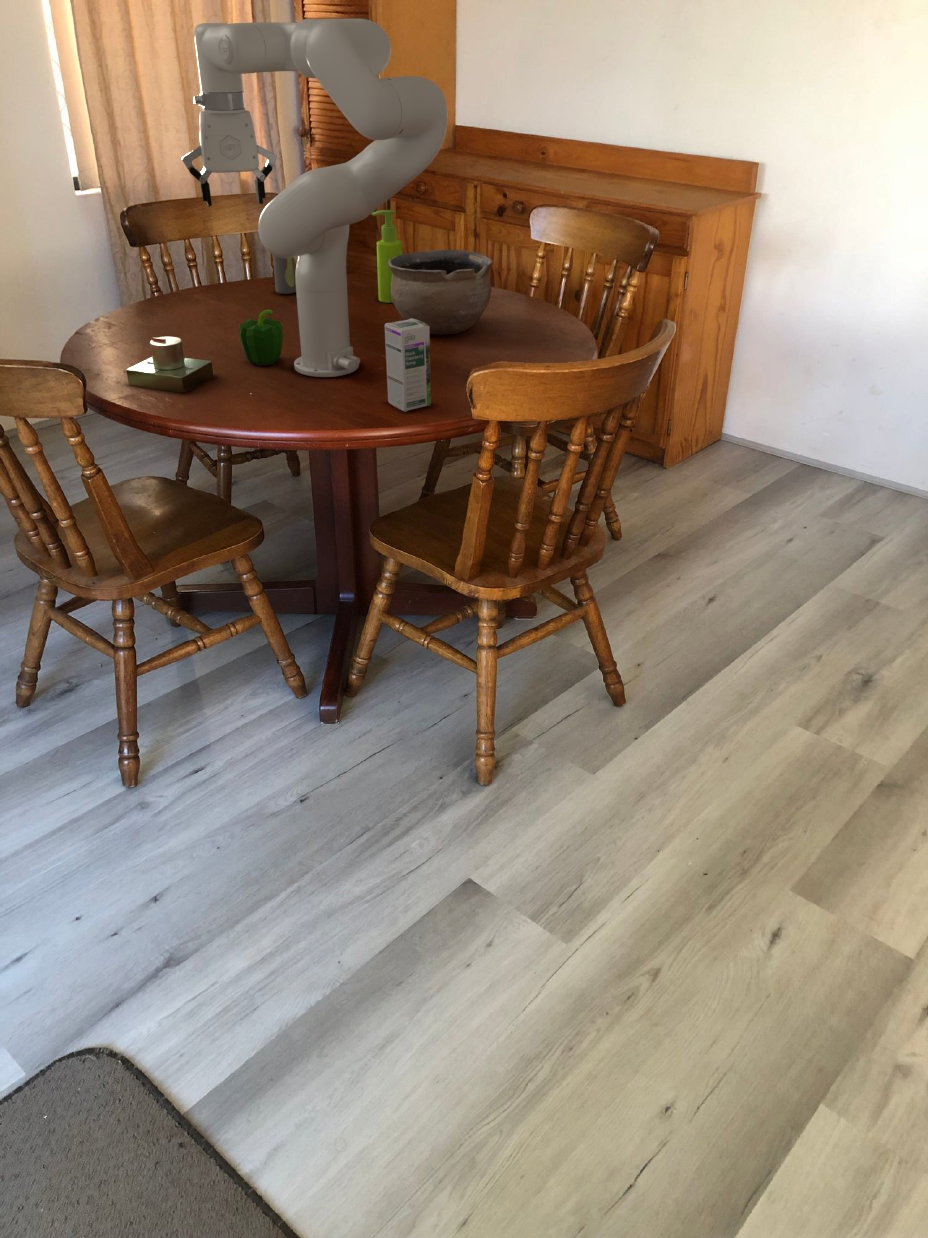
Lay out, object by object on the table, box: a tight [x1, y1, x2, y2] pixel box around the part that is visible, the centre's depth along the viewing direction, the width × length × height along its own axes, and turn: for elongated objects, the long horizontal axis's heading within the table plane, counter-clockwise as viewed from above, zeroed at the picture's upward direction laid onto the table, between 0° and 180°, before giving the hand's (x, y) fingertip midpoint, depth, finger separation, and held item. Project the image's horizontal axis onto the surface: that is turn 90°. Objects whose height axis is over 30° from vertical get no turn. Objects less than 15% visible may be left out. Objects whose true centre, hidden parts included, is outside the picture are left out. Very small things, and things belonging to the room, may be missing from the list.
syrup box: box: [384, 318, 432, 412], centre depth 170 cm, size 6×6×14 cm
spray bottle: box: [272, 255, 296, 295], centre depth 231 cm, size 5×5×20 cm
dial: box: [149, 336, 185, 370], centre depth 180 cm, size 6×6×5 cm
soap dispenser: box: [370, 209, 403, 304], centre depth 227 cm, size 6×7×20 cm
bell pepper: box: [238, 309, 284, 366], centre depth 190 cm, size 8×8×10 cm
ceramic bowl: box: [388, 249, 494, 336], centre depth 208 cm, size 22×22×15 cm
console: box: [125, 356, 214, 394], centre depth 182 cm, size 12×10×3 cm
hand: (234, 203), depth 185 cm, fingers open, 9 cm apart
